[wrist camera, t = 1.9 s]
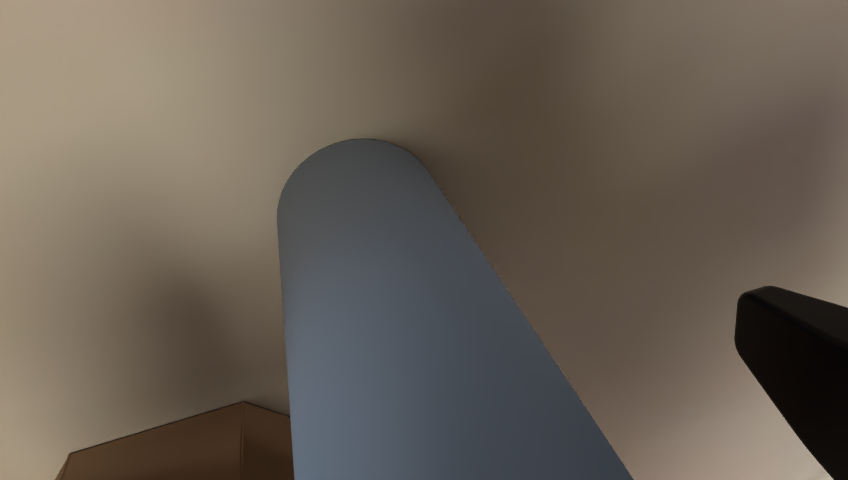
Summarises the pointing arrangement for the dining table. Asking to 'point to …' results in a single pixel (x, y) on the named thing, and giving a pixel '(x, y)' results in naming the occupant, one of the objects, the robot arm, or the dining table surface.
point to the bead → (195, 450)
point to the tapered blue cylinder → (413, 338)
